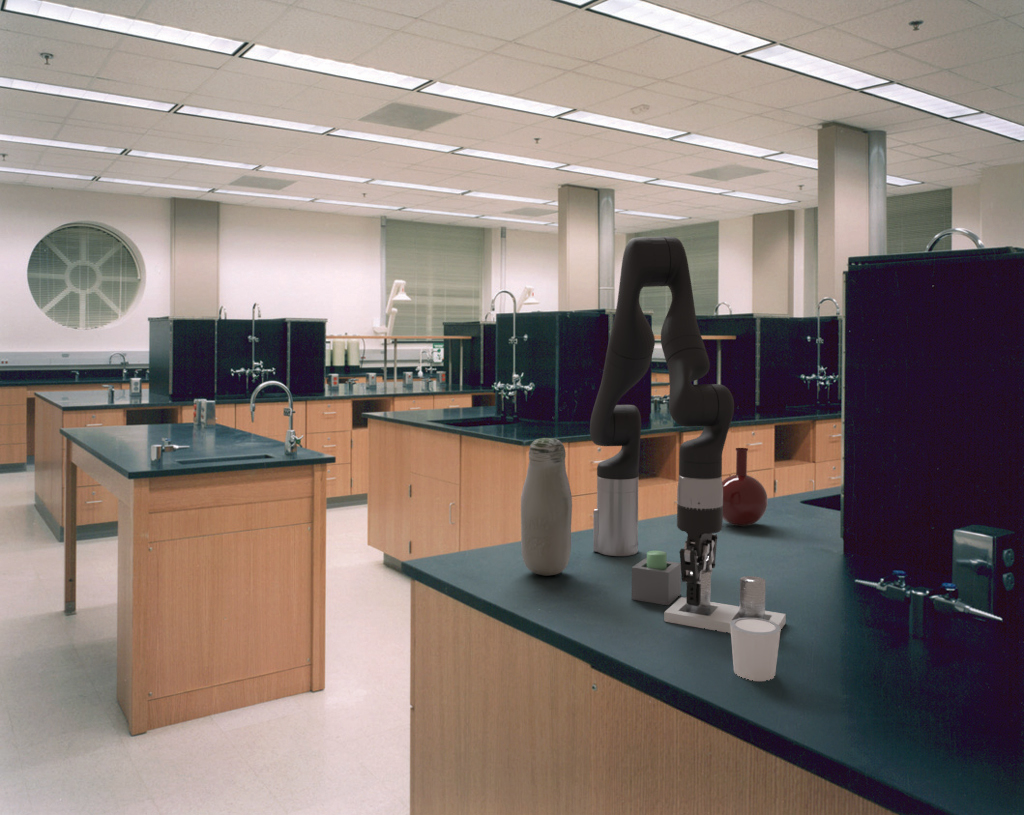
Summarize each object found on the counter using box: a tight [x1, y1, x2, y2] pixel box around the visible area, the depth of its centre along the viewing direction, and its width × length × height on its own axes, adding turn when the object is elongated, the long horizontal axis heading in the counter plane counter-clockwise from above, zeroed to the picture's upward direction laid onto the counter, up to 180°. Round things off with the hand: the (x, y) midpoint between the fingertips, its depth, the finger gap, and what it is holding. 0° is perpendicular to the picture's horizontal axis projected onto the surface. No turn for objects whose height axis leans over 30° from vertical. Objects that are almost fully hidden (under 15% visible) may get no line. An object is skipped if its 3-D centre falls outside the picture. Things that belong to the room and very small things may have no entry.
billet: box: [685, 570, 712, 616], centre depth 133 cm, size 4×4×8 cm
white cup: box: [730, 618, 782, 682], centre depth 111 cm, size 7×7×7 cm
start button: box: [646, 550, 668, 570], centre depth 144 cm, size 4×4×6 cm
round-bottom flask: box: [722, 447, 769, 527], centre depth 200 cm, size 13×13×20 cm
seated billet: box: [739, 575, 766, 619], centre depth 128 cm, size 4×4×8 cm
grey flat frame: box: [663, 596, 787, 634], centre depth 131 cm, size 18×9×2 cm, turn 60°
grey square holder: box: [631, 557, 682, 606], centre depth 144 cm, size 7×7×6 cm
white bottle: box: [520, 437, 573, 577], centre depth 158 cm, size 10×10×28 cm
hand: (698, 599), depth 133 cm, fingers open, 5 cm apart
